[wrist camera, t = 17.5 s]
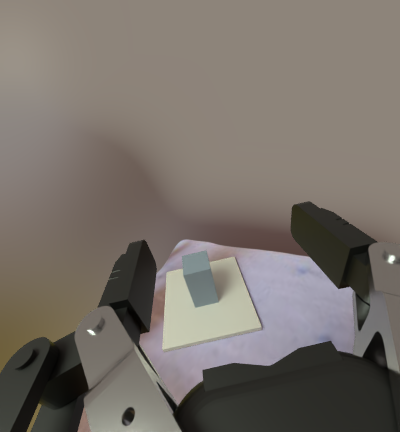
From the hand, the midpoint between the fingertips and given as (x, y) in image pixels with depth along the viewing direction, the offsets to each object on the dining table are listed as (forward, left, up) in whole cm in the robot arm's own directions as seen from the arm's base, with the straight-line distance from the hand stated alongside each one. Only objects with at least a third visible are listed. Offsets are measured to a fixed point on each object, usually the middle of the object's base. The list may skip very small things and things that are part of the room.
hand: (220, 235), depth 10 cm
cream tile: (+4, -18, -30) cm, 35 cm away
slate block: (+4, -18, -29) cm, 34 cm away
